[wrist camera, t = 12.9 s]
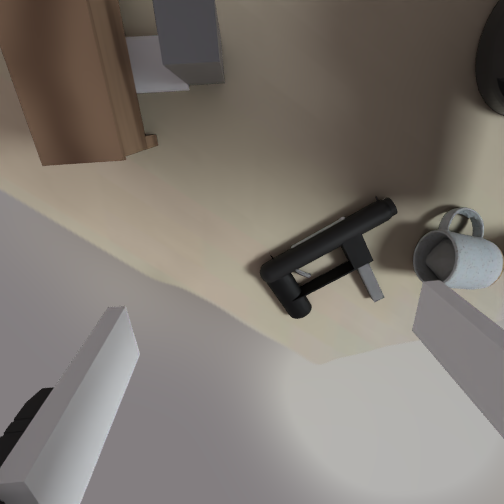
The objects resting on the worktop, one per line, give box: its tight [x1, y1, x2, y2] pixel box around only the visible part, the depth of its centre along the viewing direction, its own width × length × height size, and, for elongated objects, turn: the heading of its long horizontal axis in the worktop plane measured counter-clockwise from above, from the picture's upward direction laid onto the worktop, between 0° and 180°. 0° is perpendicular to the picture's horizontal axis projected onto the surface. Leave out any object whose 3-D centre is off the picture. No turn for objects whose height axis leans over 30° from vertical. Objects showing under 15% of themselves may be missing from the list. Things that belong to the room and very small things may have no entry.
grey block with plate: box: [125, 0, 225, 94], centre depth 25 cm, size 16×5×13 cm, turn 93°
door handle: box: [260, 197, 397, 319], centre depth 42 cm, size 3×20×16 cm
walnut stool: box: [0, 0, 158, 166], centre depth 25 cm, size 6×16×13 cm, turn 3°
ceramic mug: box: [413, 207, 504, 289], centre depth 39 cm, size 11×8×8 cm
